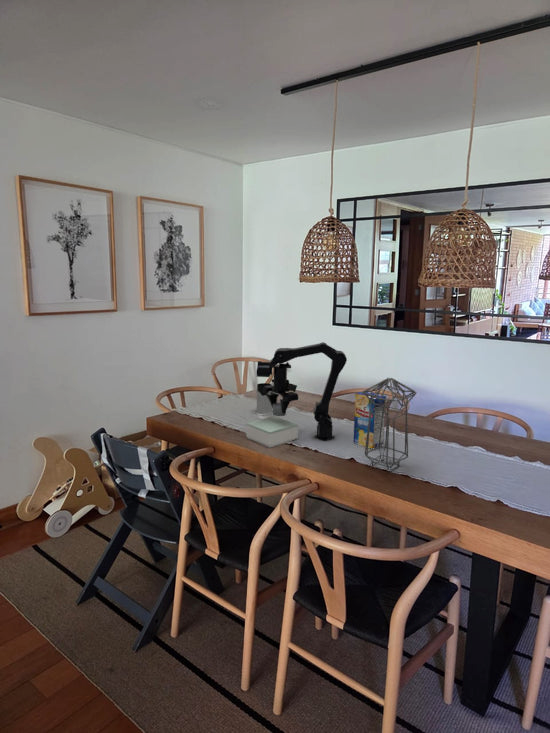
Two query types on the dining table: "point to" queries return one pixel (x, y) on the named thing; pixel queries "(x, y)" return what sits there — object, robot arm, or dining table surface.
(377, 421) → the beverage box
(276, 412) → the gray rounded pebble
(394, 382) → the geometric lantern
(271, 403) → the robot arm
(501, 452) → the dining table surface
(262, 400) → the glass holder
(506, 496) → the dining table surface
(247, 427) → the box
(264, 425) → the lid
